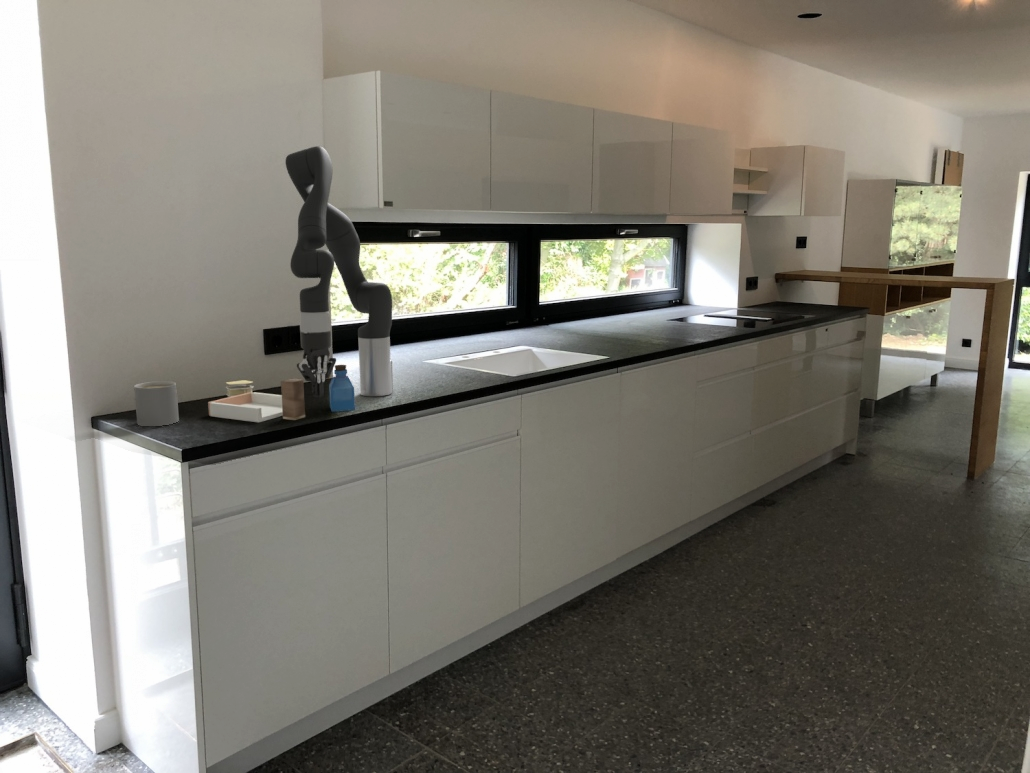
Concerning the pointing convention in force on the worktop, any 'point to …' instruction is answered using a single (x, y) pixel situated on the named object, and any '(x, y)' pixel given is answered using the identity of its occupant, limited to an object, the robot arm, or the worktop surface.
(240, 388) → the glass food container
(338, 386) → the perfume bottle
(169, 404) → the coffee mug
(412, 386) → the worktop surface
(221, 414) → the tray
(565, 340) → the worktop surface
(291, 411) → the walnut block
